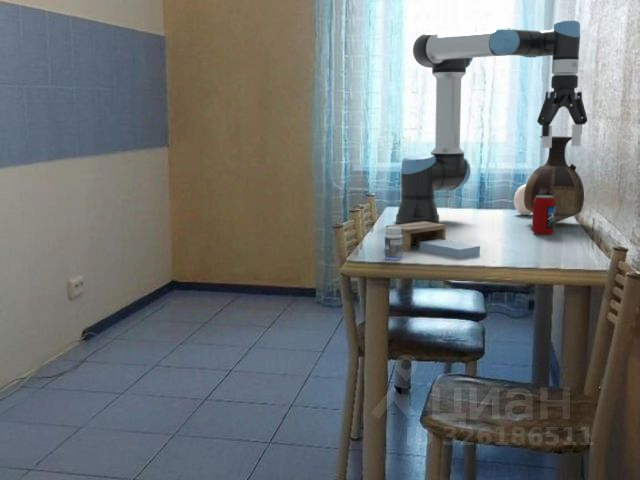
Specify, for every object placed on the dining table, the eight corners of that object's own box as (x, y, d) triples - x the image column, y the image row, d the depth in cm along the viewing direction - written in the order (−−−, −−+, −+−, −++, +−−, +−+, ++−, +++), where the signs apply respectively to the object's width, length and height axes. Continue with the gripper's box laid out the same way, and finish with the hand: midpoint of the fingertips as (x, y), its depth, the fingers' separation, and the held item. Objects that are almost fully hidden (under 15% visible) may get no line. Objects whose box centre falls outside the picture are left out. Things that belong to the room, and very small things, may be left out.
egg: (535, 217, 277) (536, 185, 275) (511, 215, 281) (512, 184, 279) (539, 214, 285) (540, 183, 283) (515, 212, 288) (516, 182, 286)
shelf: (385, 247, 218) (386, 226, 217) (423, 241, 227) (423, 221, 226) (407, 251, 211) (407, 229, 210) (445, 245, 220) (445, 224, 219)
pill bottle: (383, 257, 204) (383, 226, 202) (400, 256, 204) (400, 225, 203) (386, 260, 199) (386, 228, 198) (403, 260, 200) (404, 228, 198)
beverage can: (555, 235, 236) (556, 197, 234) (532, 235, 237) (534, 197, 235) (553, 232, 242) (554, 194, 240) (531, 231, 244) (532, 194, 242)
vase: (546, 230, 245) (550, 137, 240) (507, 223, 263) (510, 135, 258) (599, 225, 255) (604, 135, 250) (559, 218, 272) (562, 134, 267)
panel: (419, 252, 212) (419, 242, 212) (439, 249, 217) (439, 239, 217) (459, 260, 200) (459, 249, 200) (479, 257, 205) (479, 246, 205)
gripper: (547, 73, 215) (544, 148, 219) (601, 75, 229) (598, 145, 233) (526, 74, 221) (524, 147, 225) (580, 76, 235) (577, 145, 239)
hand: (561, 147), depth 229 cm, fingers open, 13 cm apart
